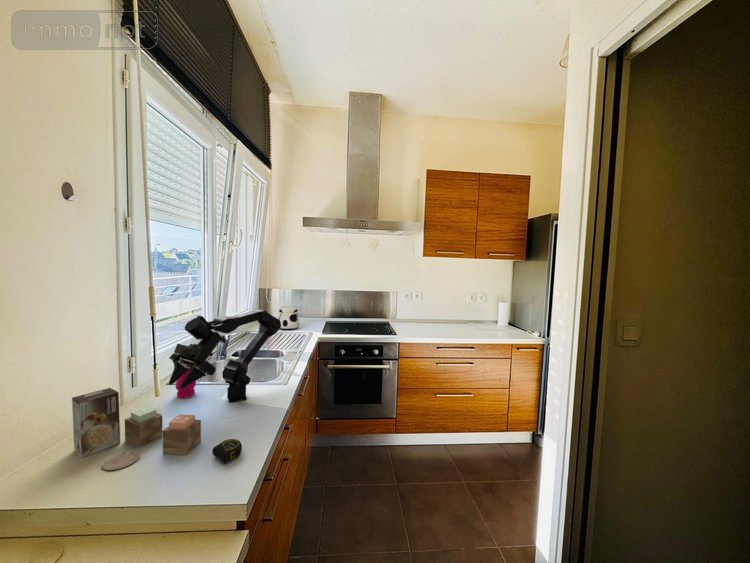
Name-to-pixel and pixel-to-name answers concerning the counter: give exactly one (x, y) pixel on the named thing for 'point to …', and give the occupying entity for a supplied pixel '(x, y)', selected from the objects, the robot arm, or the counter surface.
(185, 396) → the pepper mill
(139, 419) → the pale green cube
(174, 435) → the wooden box
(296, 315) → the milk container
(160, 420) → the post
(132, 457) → the flatbread
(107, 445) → the coffee box
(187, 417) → the pink dotted cube
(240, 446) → the tape measure
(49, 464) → the counter surface
